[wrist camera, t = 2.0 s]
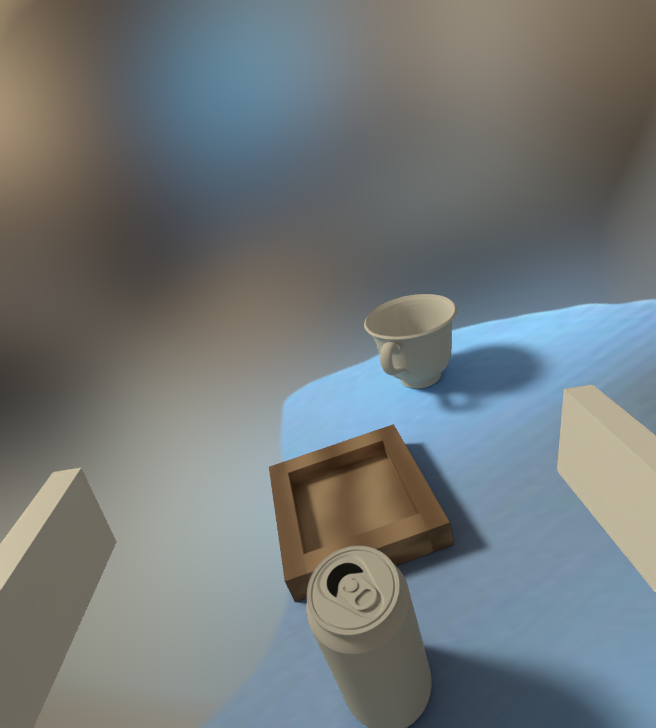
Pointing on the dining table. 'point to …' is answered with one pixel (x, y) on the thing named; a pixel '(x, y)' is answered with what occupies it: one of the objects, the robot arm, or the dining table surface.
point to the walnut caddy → (354, 505)
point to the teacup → (413, 337)
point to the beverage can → (370, 636)
